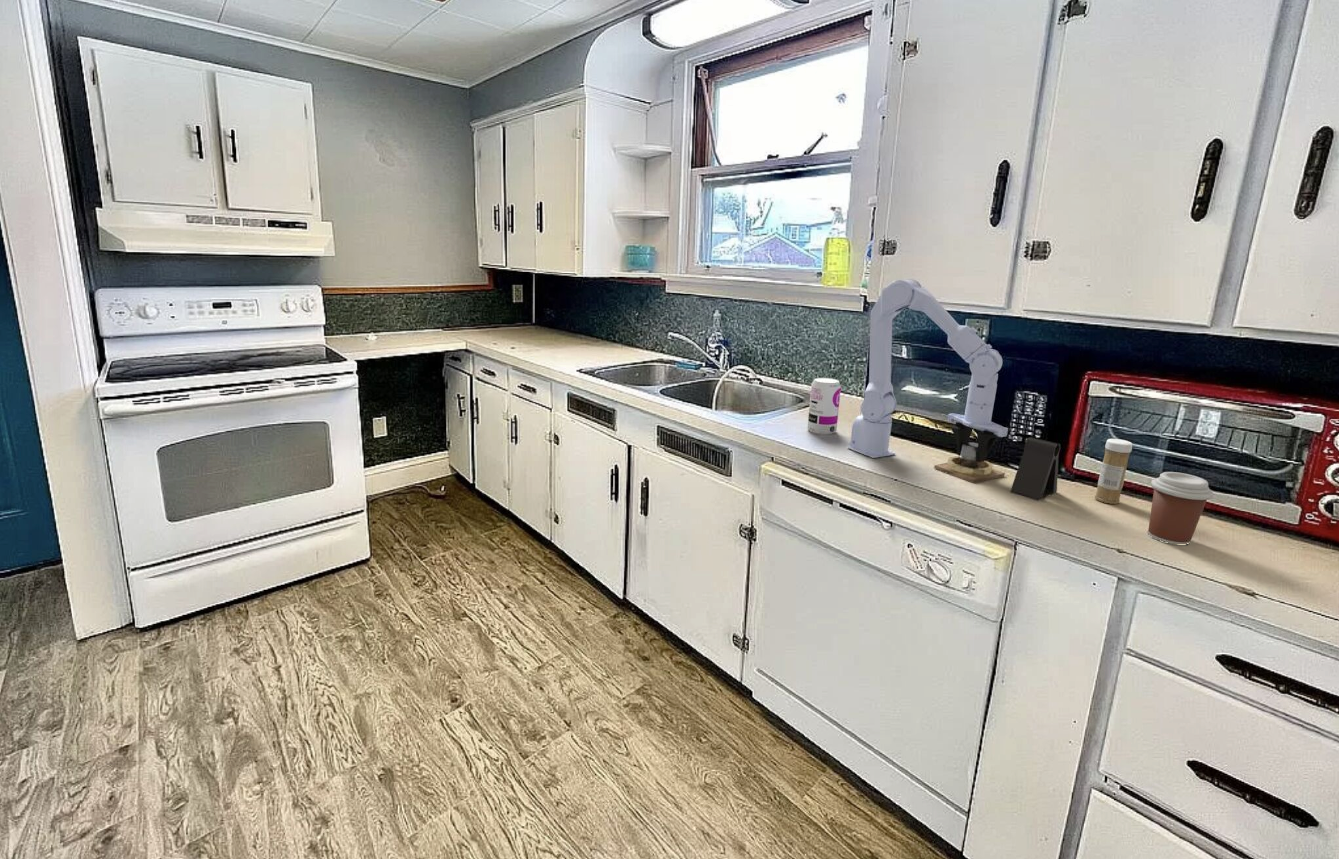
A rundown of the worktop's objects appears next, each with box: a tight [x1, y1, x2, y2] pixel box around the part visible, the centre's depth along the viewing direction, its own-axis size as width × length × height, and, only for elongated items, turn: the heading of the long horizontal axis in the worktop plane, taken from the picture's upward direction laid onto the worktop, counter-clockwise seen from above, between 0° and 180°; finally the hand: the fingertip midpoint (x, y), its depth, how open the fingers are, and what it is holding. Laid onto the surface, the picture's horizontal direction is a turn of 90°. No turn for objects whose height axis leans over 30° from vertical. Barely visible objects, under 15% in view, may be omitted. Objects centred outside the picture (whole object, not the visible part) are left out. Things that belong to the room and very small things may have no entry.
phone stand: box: [1009, 436, 1061, 501], centre depth 140 cm, size 9×6×12 cm, turn 127°
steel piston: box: [959, 441, 981, 468], centre depth 152 cm, size 5×5×5 cm
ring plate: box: [933, 455, 1006, 484], centre depth 153 cm, size 11×11×2 cm
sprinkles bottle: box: [1094, 438, 1134, 505], centre depth 136 cm, size 5×5×13 cm
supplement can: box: [807, 377, 842, 436], centre depth 183 cm, size 8×8×15 cm
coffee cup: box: [1147, 471, 1214, 545], centre depth 119 cm, size 9×9×12 cm
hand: (971, 458), depth 153 cm, fingers closed on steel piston, 5 cm apart
